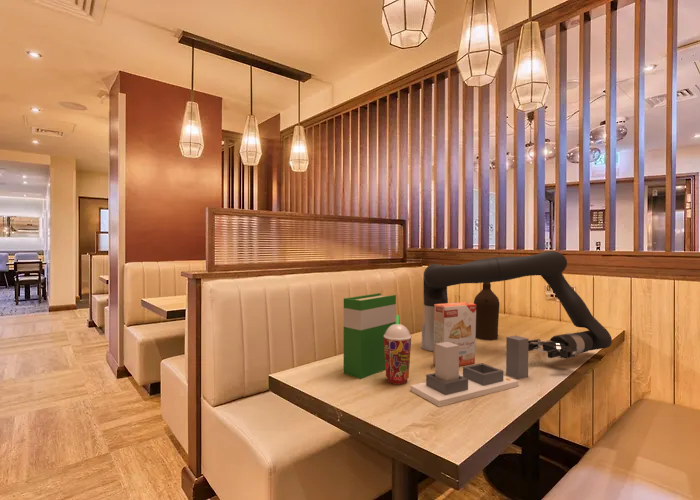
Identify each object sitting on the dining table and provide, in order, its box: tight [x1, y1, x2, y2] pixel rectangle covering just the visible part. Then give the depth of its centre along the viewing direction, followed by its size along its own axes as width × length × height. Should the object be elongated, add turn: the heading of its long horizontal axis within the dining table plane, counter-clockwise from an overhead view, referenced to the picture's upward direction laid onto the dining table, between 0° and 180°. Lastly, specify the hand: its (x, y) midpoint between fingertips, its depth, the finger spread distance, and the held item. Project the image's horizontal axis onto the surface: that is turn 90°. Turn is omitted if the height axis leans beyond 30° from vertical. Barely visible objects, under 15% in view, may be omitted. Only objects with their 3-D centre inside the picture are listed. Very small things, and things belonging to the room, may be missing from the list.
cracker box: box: [432, 301, 477, 367], centre depth 132 cm, size 14×6×21 cm, turn 115°
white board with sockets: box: [409, 342, 520, 408], centre depth 110 cm, size 12×30×14 cm, turn 118°
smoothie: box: [384, 314, 412, 385], centre depth 116 cm, size 8×8×20 cm
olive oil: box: [473, 282, 500, 341], centre depth 168 cm, size 11×11×25 cm
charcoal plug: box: [505, 335, 529, 380], centre depth 120 cm, size 4×4×12 cm
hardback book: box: [343, 292, 397, 380], centre depth 126 cm, size 18×7×24 cm, turn 136°
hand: (536, 351), depth 125 cm, fingers open, 8 cm apart
